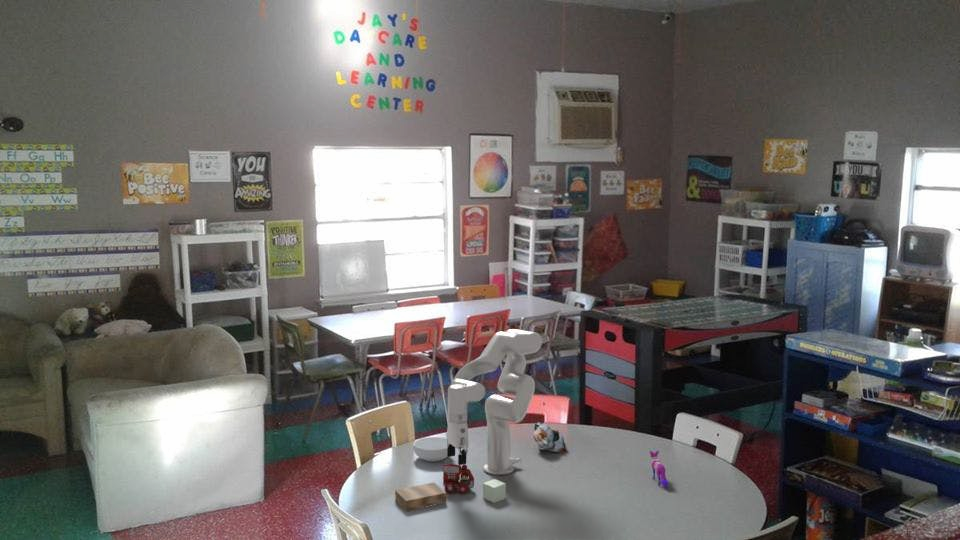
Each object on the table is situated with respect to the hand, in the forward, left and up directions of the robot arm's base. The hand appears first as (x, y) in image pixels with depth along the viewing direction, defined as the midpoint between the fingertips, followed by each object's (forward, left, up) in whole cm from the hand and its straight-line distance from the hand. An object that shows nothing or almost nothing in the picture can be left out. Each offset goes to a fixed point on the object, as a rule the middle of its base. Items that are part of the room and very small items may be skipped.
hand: (456, 460), depth 306 cm
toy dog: (-76, +29, -13) cm, 82 cm away
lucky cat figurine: (-56, -22, -13) cm, 61 cm away
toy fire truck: (-1, 0, -13) cm, 13 cm away
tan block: (+16, +3, -12) cm, 21 cm away
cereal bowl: (-6, -35, -13) cm, 38 cm away
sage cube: (-10, +13, -13) cm, 20 cm away
